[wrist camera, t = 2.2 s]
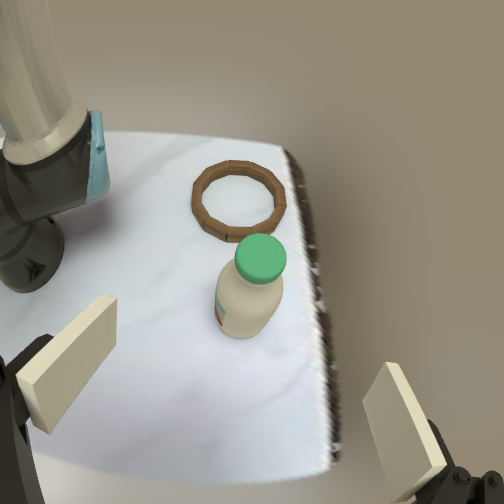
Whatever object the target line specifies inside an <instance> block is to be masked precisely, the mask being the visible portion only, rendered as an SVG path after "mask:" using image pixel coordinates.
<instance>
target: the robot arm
mask: <svg viewBox="0 0 504 504" xmlns="http://www.w3.org/2000/svg"><path fill="white" fill-rule="evenodd" d="M0 123H1V125H2V127H3V129H4V131H5V133H6V136H5V139H4V142H3V148H2V149H0V279H1V281H2V282H3V283H4V284H5V285H7V286H8V287H9V288H11V289H12V290H14V291H16V292H21V293H27V292H31V291H34V290H36V289H38V288H40V287H41V286H43V285H44V284H45V283H46V282H47V281H48V280H49V279H50V278H51V277H52V276H53V274H54V273H55V271H56V270H57V268H58V266H59V264H60V261H61V259H62V255H63V250H64V237H63V233H62V231H61V228H60V227H59V225H58V224H57V223H56V221H55V220H54V219H53V218H52V217H51V216H52V215H55V214H57V213H60V212H63V211H66V210H69V209H71V208H74V207H77V206H80V205H83V204H84V205H85V204H87V203H88V202H89V201H91V200H94V199H96V198H98V197H101V196H103V195H104V194H106V193H107V191H108V190H109V187H110V179H109V172H108V165H107V158H106V151H105V143H104V135H103V125H102V115H101V112H100V111H99V110H95V111H94V110H91V111H89V112H88V110H87V107H86V104H85V102H84V101H83V100H82V99H81V98H79V97H77V96H74V95H69V92H68V89H67V85H66V81H65V78H64V74H63V70H62V67H61V63H60V59H59V55H58V51H57V47H56V42H55V38H54V33H53V28H52V24H51V18H50V14H49V8H48V2H47V0H0ZM116 319H117V297H114V296H111V295H108V294H105V293H103V294H102V295H101V296H99V297H98V298H97V299H96V300H95V301H94V302H93V303H91V304H90V305H89V306H88V307H87V308H86V309H85V310H84V311H82V312H81V313H80V314H79V315H78V316H77V317H76V318H75V319H74V320H72V321H71V322H70V323H69V324H68V325H67V326H66V327H65V328H64V329H63V330H62V331H60V332H59V333H58V334H57V335H56V336H55V337H53V336H51V335H49V334H45V335H43V336H40V337H38V338H36V339H35V340H34V341H33V342H32V343H31V344H30V345H29V346H27V347H26V348H25V349H24V351H22V352H21V353H20V354H19V355H17V356H16V357H15V358H14V359H13V360H12V361H11V362H10V363H9V364H8V365H7V366H6V367H5V364H4V360H3V358H2V357H1V356H0V504H45V502H44V498H43V495H42V492H41V488H40V485H39V481H38V477H37V473H36V469H35V465H34V461H33V456H32V451H31V446H30V441H29V435H28V429H27V425H26V421H27V420H28V418H29V417H31V420H32V422H33V425H34V426H35V427H37V428H39V429H40V430H42V431H44V432H46V433H47V434H49V435H50V433H51V432H52V430H53V429H54V427H55V426H56V424H57V423H58V422H59V420H60V419H61V417H62V416H63V415H64V413H65V412H66V410H67V409H68V408H69V406H70V405H71V403H72V402H73V401H74V399H75V398H76V397H77V395H78V394H79V393H80V391H81V390H82V388H83V387H84V386H85V384H86V383H87V382H88V380H89V379H90V378H91V376H92V375H93V374H94V372H95V371H96V370H97V368H98V367H99V366H100V364H101V363H102V362H103V361H104V359H105V358H106V357H107V355H108V354H109V353H110V351H111V350H112V349H113V348H114V346H115V345H116ZM363 405H364V408H365V411H366V415H367V418H368V421H369V424H370V428H371V431H372V434H373V438H374V441H375V445H376V448H377V451H378V455H379V459H380V462H381V466H382V469H383V473H384V477H385V480H386V484H387V488H388V492H389V496H390V500H391V503H398V502H405V501H407V500H408V499H410V498H411V497H412V496H413V495H414V494H415V496H416V499H417V500H415V501H414V502H413V503H411V504H504V482H503V479H502V477H501V476H500V474H499V473H497V472H495V471H488V472H486V473H485V475H483V476H482V477H481V478H479V477H471V475H470V474H469V472H468V471H467V470H465V469H464V468H462V467H458V466H457V467H456V466H455V464H454V462H453V460H452V458H451V456H450V453H449V451H448V449H447V447H446V445H445V444H444V441H443V439H442V437H441V434H440V432H439V430H438V428H437V427H436V426H435V425H434V423H432V421H431V420H426V418H425V416H424V413H423V412H422V409H421V407H420V405H419V404H418V402H417V400H416V397H415V395H414V394H413V392H412V390H411V388H410V386H409V384H408V382H407V380H406V378H405V377H404V374H403V372H402V371H401V369H400V367H399V365H398V364H397V363H391V362H385V363H384V365H383V367H382V369H381V370H380V372H379V374H378V376H377V377H376V379H375V381H374V383H373V384H372V386H371V388H370V389H369V391H368V393H367V394H366V396H365V397H364V399H363Z"/></svg>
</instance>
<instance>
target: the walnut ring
mask: <svg viewBox="0 0 504 504" xmlns="http://www.w3.org/2000/svg"><path fill="white" fill-rule="evenodd" d="M227 175H244V176H249V177H251V178H253V179H255V180H257V181H259V182H261V183H263V184H264V185H265V186H266V188H267V189H268V190H269V191H270V193H271V194H272V195H273V197H274V205H275V210H274V211H273V213H272V215H271V216H270V218H269V219H267V220H265V221H263V222H261V223H259V224H257V225H254V226H252V227H233V226H227V225H226V224H224V223H222V222H220V221H218V220H216V219H214V218H212V217H210V215H209V214H208V212H207V211H206V209H205V207H204V206H203V204H202V203H201V199H202V193H203V192H204V191H205V189H206V188H207V187H208V186H209V184H210V183H211V182H212V181H214V180H217V179H219V178H222V177H224V176H227ZM191 203H192V212H193V214H194V216H195V217H196V219H197V221H198V222H199V224H200V226H201V227H202V229H204V231H206V232H207V233H209V234H211V235H213V236H215V237H217V238H219V239H221V240H222V241H224V242H225V241H226V240H227V242H235V243H240V242H241V241H242V240H243V239H244V238H245V237H247V236H249V235H251V234H256V233H263V234H268V235H269V234H271V233H273V232H274V230H275V229H276V227H277V225H278V224H279V222H280V220H281V218H282V217H283V215H284V212H285V210H286V206H287V204H286V196H285V188H284V186H283V185H282V184H281V182H280V181H279V180H278V179H277V178H276V176H275V175H274V174H273V173H272V171H271V172H270V170H268V169H266V168H264V167H262V166H260V165H258V164H255V163H253V162H250V161H238V160H228V161H227V160H226V161H223V162H221V163H218V164H215V165H213V166H210V167H207V168H206V169H205V170H204V171H203V172H202V174H201V175H200V176H199V177H198V178H197V179H196V180H195V182H194V184H193V191H192V202H191Z"/></svg>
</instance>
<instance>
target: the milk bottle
mask: <svg viewBox="0 0 504 504" xmlns="http://www.w3.org/2000/svg"><path fill="white" fill-rule="evenodd" d="M285 265H286V252H285V249H284V247H283V245H282V244H281V243H280V242H279V241H278V240H277V239H276V238H274V237H273V236H270V235H268V234H263V233H256V234H251V235H249V236H247V237H245V238H244V239H243V240H242V241H241V242H240V243H239V245H238V246H237V249H236V252H235V258H234V259H232V260H231V261H230V262H228V263H227V264H226V266H225V267H224V268H223V269H222V271H221V273H220V275H219V278H218V281H217V286H216V294H215V319H216V322H217V324H218V326H219V328H220V329H221V330H222V331H223V332H224V333H225V334H227V335H228V336H230V337H233V338H237V339H246V338H250V337H253V336H255V335H256V334H258V333H259V332H260V331H261V330H262V329H263V327H264V326H265V325H266V323H267V322H268V321H269V319H270V318H271V317H272V315H273V314H274V312H275V311H276V309H277V307H278V305H279V304H280V301H281V298H282V295H283V280H282V276H281V273H282V272H283V270H284V268H285Z"/></svg>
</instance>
